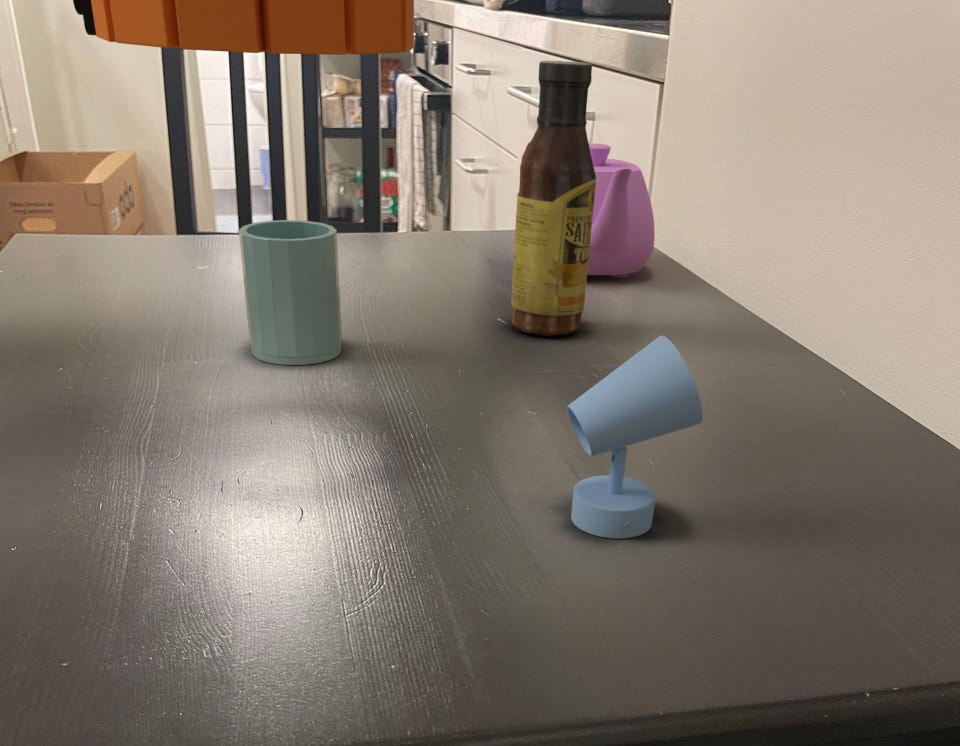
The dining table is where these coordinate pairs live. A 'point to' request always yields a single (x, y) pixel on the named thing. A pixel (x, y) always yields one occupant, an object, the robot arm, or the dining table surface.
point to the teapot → (619, 217)
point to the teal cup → (292, 291)
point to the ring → (260, 25)
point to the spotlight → (629, 435)
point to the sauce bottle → (555, 207)
